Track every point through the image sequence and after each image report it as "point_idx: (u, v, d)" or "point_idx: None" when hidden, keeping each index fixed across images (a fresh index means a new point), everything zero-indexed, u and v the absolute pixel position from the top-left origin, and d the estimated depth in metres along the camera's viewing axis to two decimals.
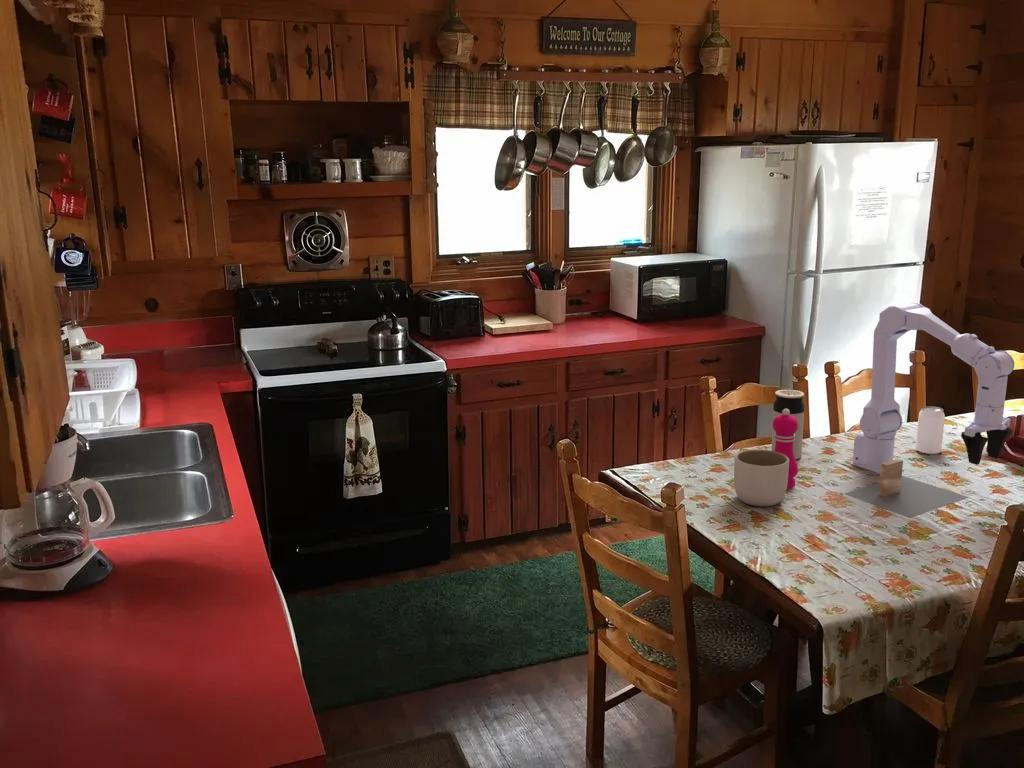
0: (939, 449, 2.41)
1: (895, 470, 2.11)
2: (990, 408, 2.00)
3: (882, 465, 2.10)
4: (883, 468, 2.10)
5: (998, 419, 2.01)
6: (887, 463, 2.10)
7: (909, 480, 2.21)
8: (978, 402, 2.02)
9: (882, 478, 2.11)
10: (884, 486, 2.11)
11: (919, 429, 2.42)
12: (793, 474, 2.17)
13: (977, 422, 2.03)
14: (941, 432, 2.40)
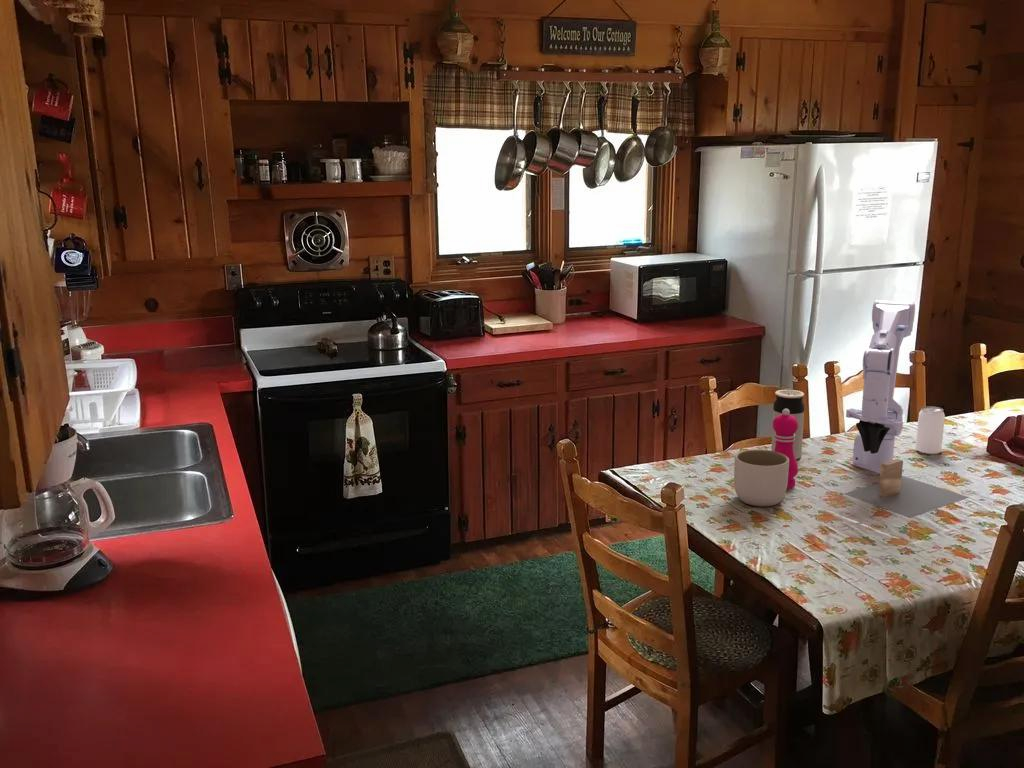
0: (939, 449, 2.41)
1: (895, 470, 2.11)
2: None
3: (882, 465, 2.10)
4: (883, 468, 2.10)
5: (864, 410, 2.13)
6: (887, 463, 2.10)
7: (909, 480, 2.21)
8: None
9: (882, 478, 2.11)
10: (884, 486, 2.11)
11: (919, 429, 2.42)
12: (793, 474, 2.17)
13: None
14: (941, 432, 2.40)
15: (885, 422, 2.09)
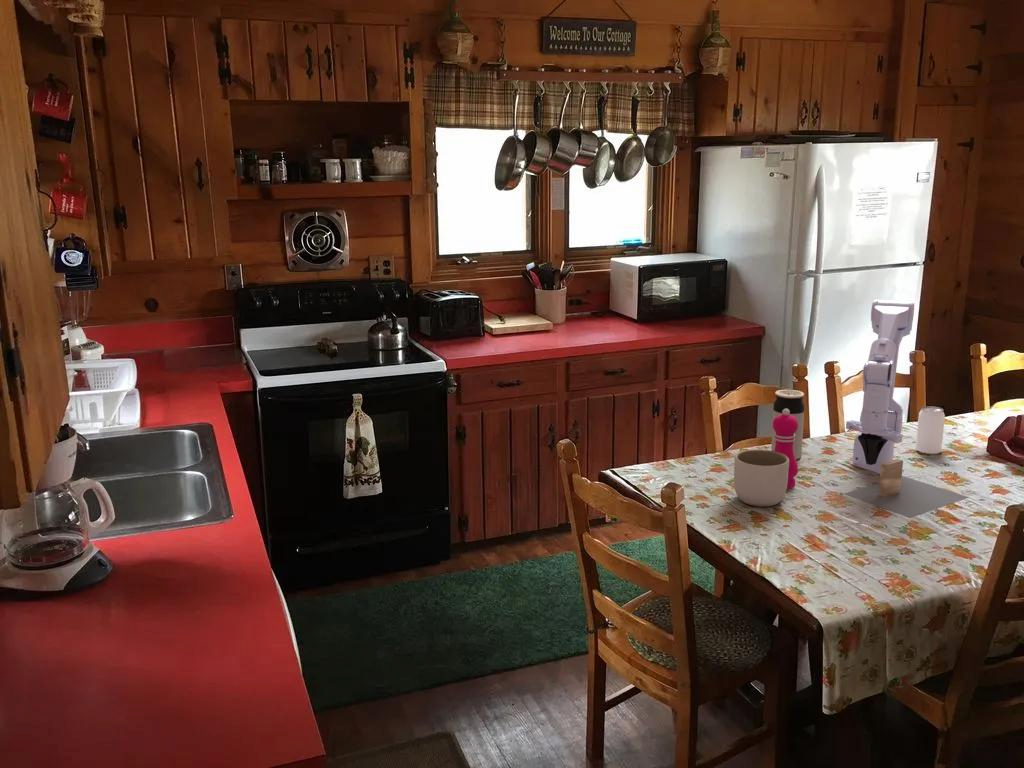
0: (939, 449, 2.41)
1: (895, 470, 2.11)
2: (862, 410, 2.15)
3: (882, 465, 2.10)
4: (883, 468, 2.10)
5: (863, 422, 2.13)
6: (887, 463, 2.10)
7: (909, 480, 2.21)
8: None
9: (882, 478, 2.11)
10: (884, 486, 2.11)
11: (919, 429, 2.42)
12: (793, 474, 2.17)
13: None
14: (941, 432, 2.40)
15: (885, 434, 2.10)
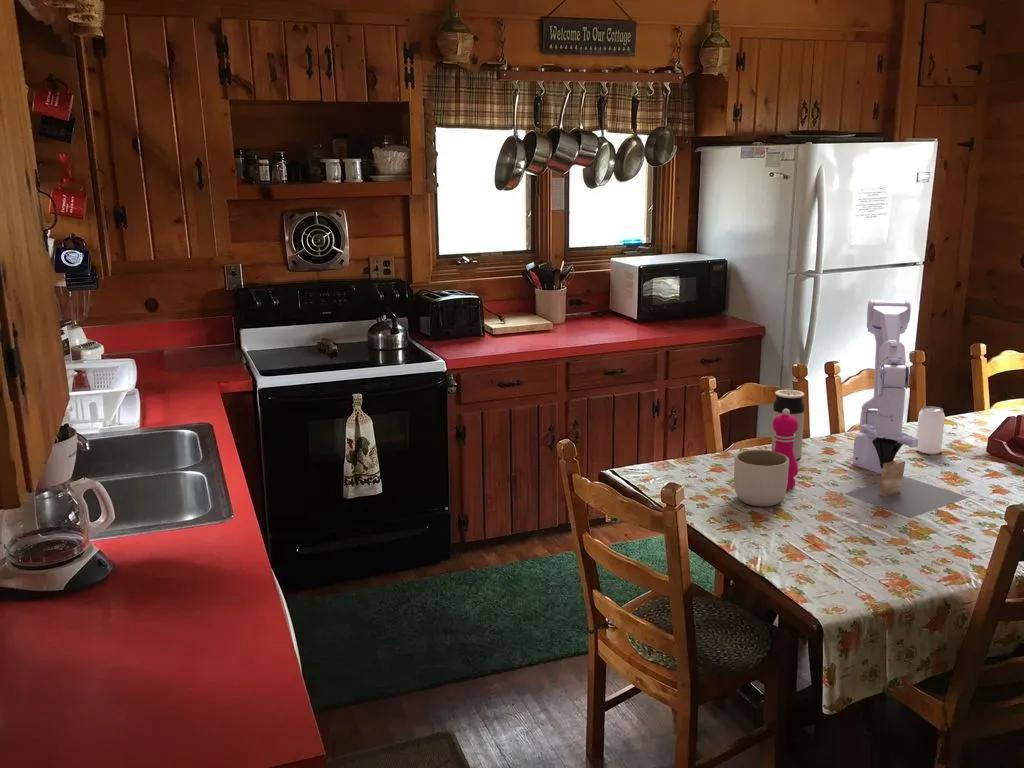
0: (939, 449, 2.41)
1: (897, 471, 2.11)
2: (877, 413, 2.11)
3: (884, 465, 2.10)
4: (885, 468, 2.10)
5: (878, 426, 2.10)
6: (889, 464, 2.10)
7: (909, 480, 2.21)
8: None
9: (883, 478, 2.10)
10: (885, 486, 2.10)
11: (919, 429, 2.42)
12: (793, 474, 2.17)
13: None
14: (941, 432, 2.40)
15: (900, 439, 2.06)
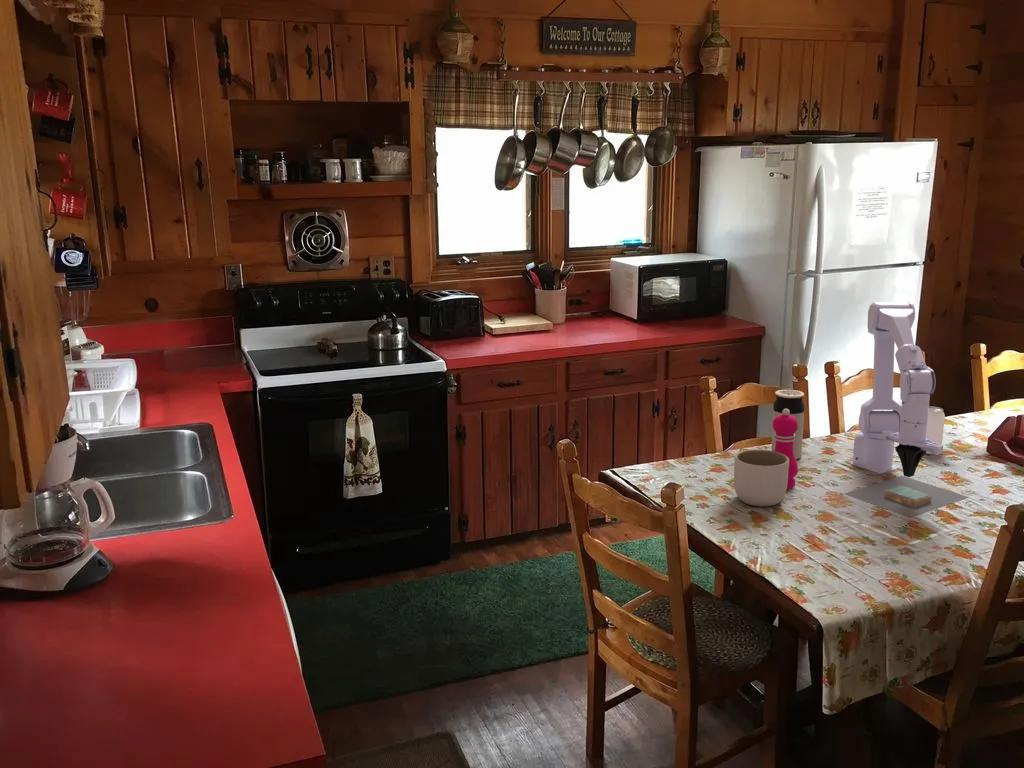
0: None
1: None
2: (900, 420, 2.06)
3: (913, 502, 2.04)
4: (910, 502, 2.05)
5: (902, 432, 2.05)
6: (918, 503, 2.05)
7: (909, 480, 2.21)
8: None
9: (901, 499, 2.07)
10: (894, 499, 2.09)
11: None
12: (793, 474, 2.17)
13: None
14: (941, 432, 2.40)
15: (924, 445, 2.01)
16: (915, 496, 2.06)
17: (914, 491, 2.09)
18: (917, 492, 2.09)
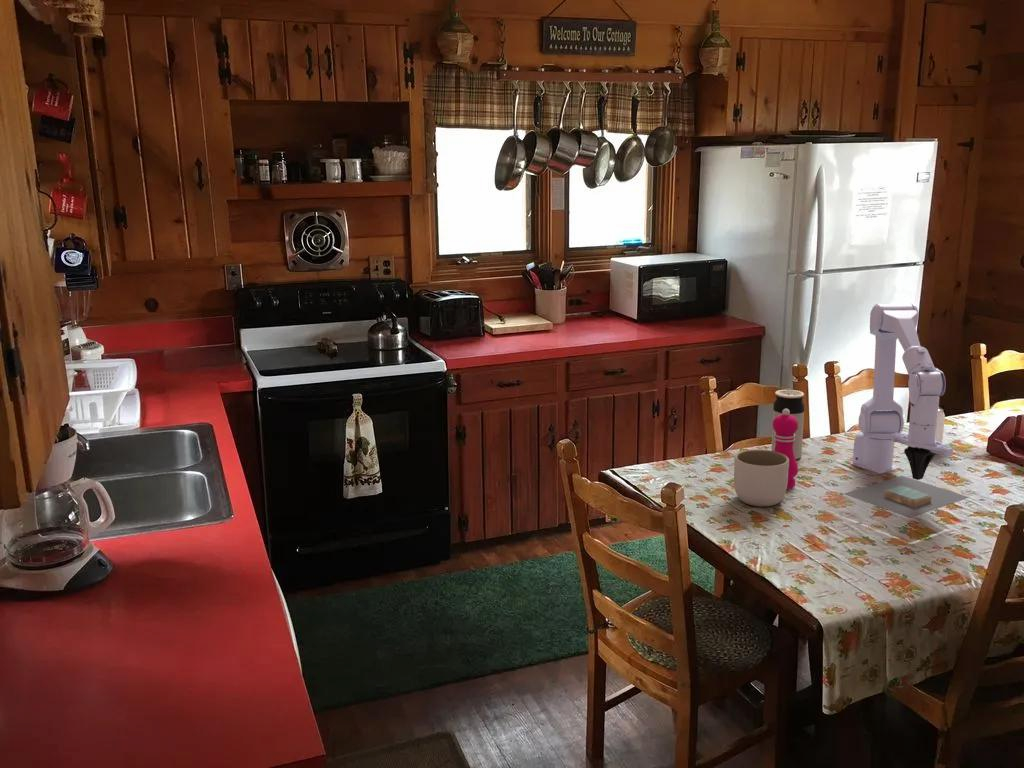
0: None
1: None
2: (909, 422, 2.04)
3: (913, 502, 2.04)
4: (910, 502, 2.05)
5: (911, 435, 2.03)
6: (918, 503, 2.05)
7: (909, 480, 2.21)
8: None
9: (901, 499, 2.07)
10: (894, 499, 2.09)
11: None
12: (793, 474, 2.17)
13: None
14: (941, 432, 2.40)
15: (934, 448, 1.99)
16: (915, 496, 2.06)
17: (914, 491, 2.09)
18: (917, 492, 2.09)
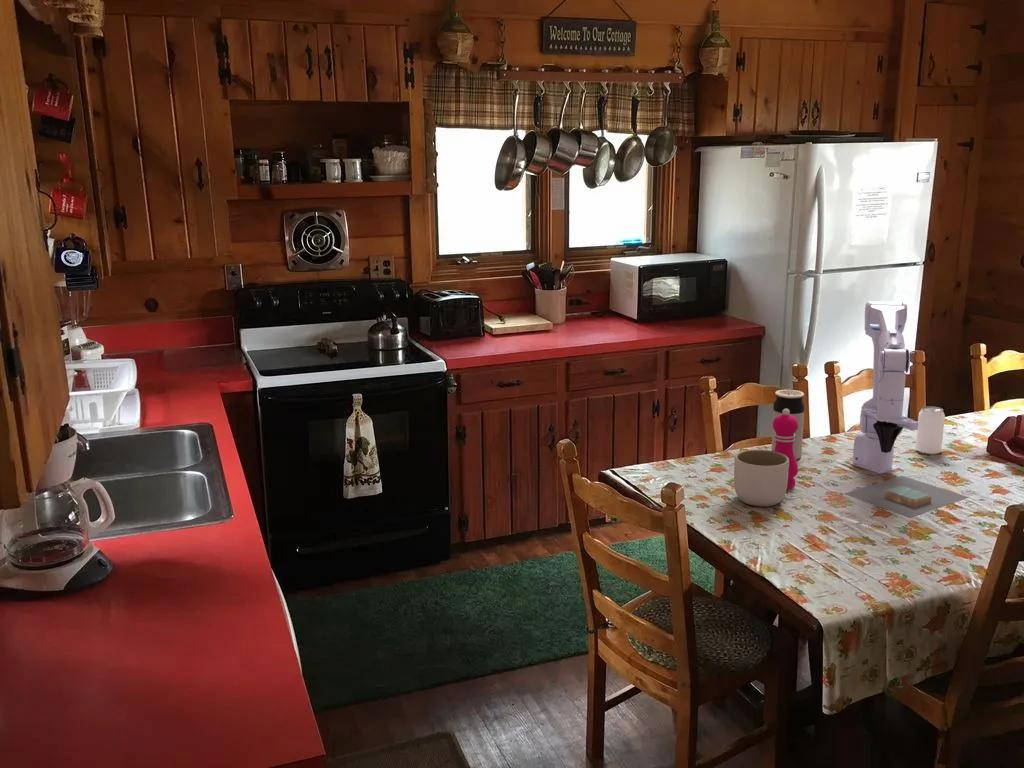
0: (939, 449, 2.41)
1: None
2: None
3: (913, 502, 2.04)
4: (910, 502, 2.05)
5: (879, 410, 2.13)
6: (918, 503, 2.05)
7: (909, 480, 2.21)
8: None
9: (901, 499, 2.07)
10: (894, 499, 2.09)
11: (919, 429, 2.42)
12: (793, 474, 2.17)
13: None
14: (941, 432, 2.40)
15: (901, 422, 2.09)
16: (915, 496, 2.06)
17: (914, 491, 2.09)
18: (917, 492, 2.09)
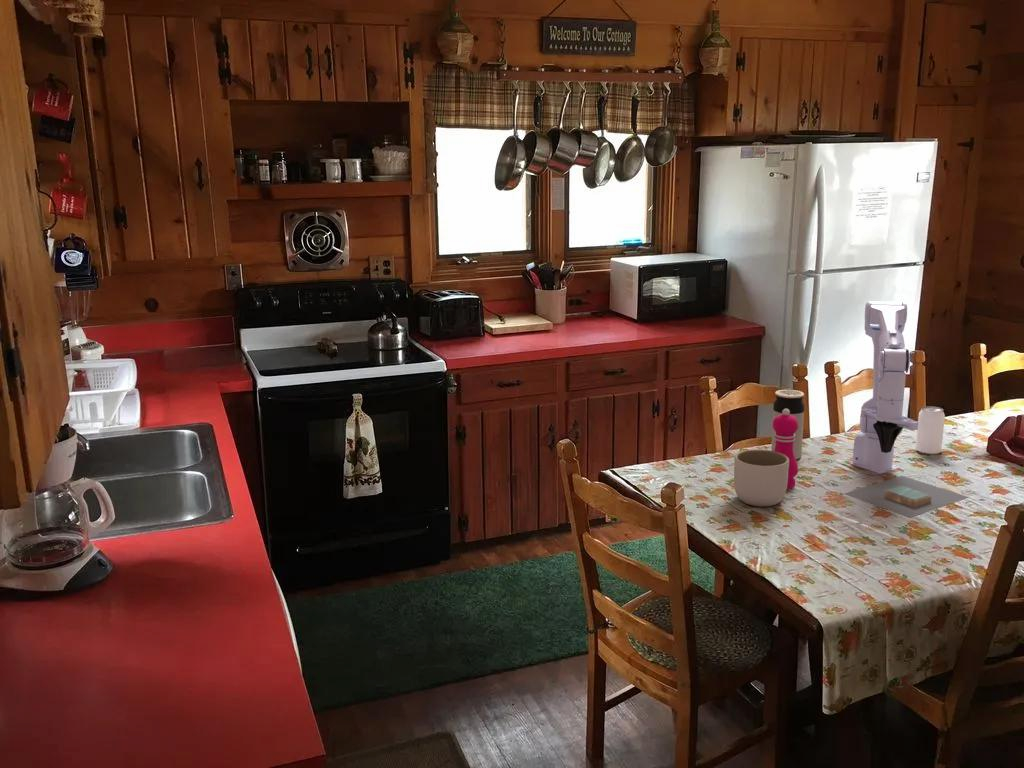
0: (939, 449, 2.41)
1: None
2: None
3: (913, 502, 2.04)
4: (910, 502, 2.05)
5: (879, 410, 2.13)
6: (918, 503, 2.05)
7: (909, 480, 2.21)
8: None
9: (901, 499, 2.07)
10: (894, 499, 2.09)
11: (919, 429, 2.42)
12: (793, 474, 2.17)
13: None
14: (941, 432, 2.40)
15: (901, 422, 2.09)
16: (915, 496, 2.06)
17: (914, 491, 2.09)
18: (917, 492, 2.09)
